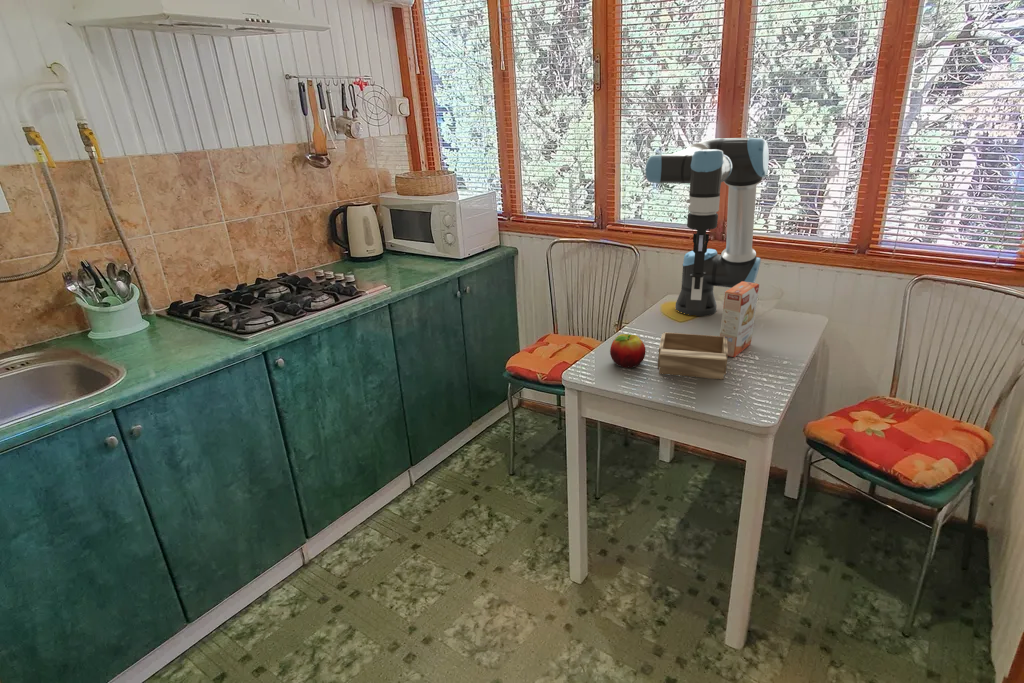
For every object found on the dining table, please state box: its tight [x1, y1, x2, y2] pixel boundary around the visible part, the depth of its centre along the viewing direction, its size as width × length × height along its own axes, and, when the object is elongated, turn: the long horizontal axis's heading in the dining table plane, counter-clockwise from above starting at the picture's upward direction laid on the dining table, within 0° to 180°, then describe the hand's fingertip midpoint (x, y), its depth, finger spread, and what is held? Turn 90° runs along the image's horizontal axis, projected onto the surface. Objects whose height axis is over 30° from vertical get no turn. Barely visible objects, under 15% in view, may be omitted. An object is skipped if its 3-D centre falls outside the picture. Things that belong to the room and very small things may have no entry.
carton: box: [657, 331, 729, 381], centre depth 170 cm, size 14×19×8 cm
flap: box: [660, 349, 728, 361], centre depth 159 cm, size 7×18×1 cm, turn 72°
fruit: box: [609, 333, 647, 369], centre depth 174 cm, size 11×11×10 cm
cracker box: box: [719, 281, 760, 358], centre depth 179 cm, size 14×6×21 cm, turn 138°
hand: (695, 299), depth 156 cm, fingers closed
